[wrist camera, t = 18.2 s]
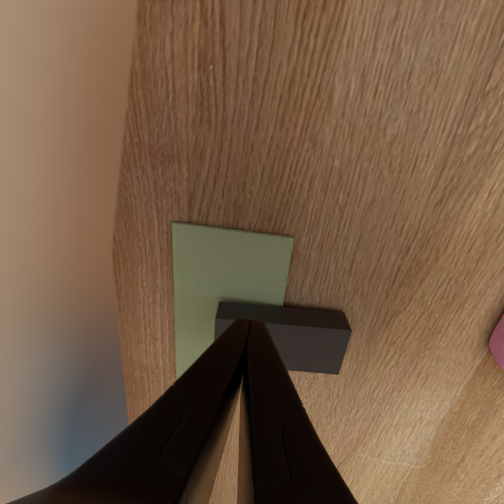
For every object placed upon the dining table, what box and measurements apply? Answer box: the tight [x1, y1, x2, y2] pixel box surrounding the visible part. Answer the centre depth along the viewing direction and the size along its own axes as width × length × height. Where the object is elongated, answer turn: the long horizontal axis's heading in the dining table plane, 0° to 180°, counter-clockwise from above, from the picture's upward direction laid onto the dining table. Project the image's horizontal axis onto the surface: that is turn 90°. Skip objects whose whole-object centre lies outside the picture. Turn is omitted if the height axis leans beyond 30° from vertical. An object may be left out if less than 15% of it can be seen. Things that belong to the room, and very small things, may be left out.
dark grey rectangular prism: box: [214, 301, 352, 374], centre depth 23 cm, size 2×4×10 cm
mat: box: [172, 222, 294, 385], centre depth 25 cm, size 16×9×1 cm, turn 175°
